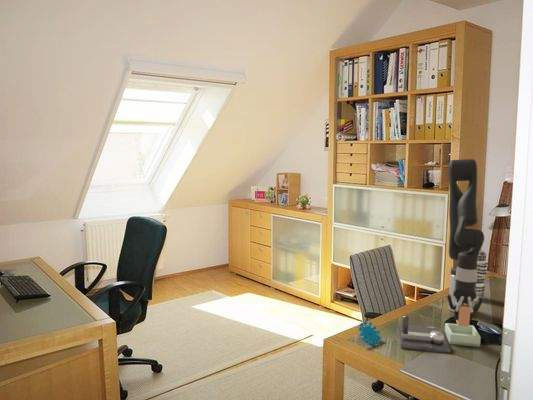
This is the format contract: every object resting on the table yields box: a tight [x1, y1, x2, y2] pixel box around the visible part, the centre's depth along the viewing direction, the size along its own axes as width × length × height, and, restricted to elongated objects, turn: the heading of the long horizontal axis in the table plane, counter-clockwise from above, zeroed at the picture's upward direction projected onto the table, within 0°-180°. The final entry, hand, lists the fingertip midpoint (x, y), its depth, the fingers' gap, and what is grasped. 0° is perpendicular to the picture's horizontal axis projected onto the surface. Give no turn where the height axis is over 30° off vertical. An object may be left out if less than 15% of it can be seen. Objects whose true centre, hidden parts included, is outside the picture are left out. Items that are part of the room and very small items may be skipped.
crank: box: [402, 314, 445, 344], centre depth 172 cm, size 16×5×9 cm, turn 78°
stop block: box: [455, 304, 471, 327], centre depth 176 cm, size 4×4×8 cm
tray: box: [444, 322, 481, 347], centre depth 177 cm, size 11×11×4 cm
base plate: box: [395, 323, 452, 354], centre depth 177 cm, size 20×18×2 cm
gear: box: [357, 320, 382, 347], centre depth 174 cm, size 11×6×10 cm
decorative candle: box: [473, 249, 488, 302], centre depth 225 cm, size 9×9×25 cm
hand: (462, 319), depth 176 cm, fingers closed on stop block, 4 cm apart
